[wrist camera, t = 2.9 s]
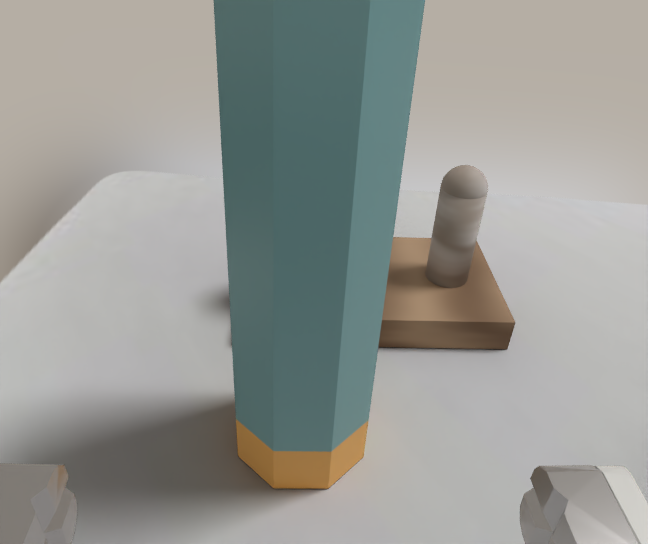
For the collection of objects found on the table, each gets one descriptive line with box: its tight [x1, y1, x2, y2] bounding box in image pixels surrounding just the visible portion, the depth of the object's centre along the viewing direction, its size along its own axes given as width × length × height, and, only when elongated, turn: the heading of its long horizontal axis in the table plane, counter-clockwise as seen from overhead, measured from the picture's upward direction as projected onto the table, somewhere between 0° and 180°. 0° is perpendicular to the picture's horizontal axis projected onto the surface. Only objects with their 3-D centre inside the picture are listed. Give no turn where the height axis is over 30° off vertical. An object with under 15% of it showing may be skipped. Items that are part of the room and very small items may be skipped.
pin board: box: [378, 165, 515, 349], centre depth 35 cm, size 15×9×9 cm, turn 92°
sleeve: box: [214, 0, 425, 489], centre depth 22 cm, size 6×6×20 cm
